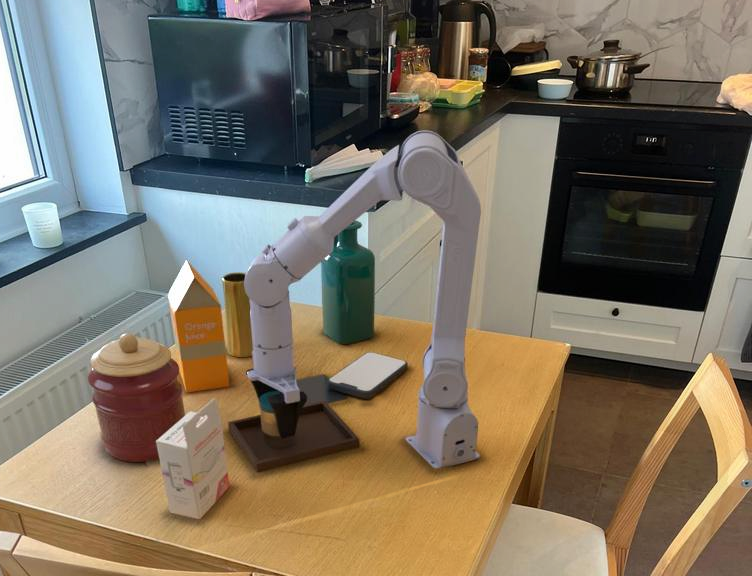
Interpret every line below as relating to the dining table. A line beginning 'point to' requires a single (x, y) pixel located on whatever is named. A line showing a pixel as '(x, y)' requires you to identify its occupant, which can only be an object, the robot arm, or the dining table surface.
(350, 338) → the green glass bottle
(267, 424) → the teal lidded glass jar
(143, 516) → the dining table surface
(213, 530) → the dining table surface
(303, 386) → the slate coaster
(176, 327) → the orange juice
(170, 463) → the ink cartridge box
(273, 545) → the dining table surface
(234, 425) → the tray
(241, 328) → the vase
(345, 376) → the phone case
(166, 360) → the kitchen canister
